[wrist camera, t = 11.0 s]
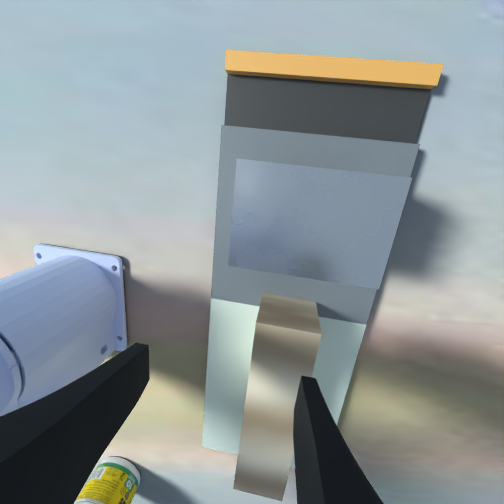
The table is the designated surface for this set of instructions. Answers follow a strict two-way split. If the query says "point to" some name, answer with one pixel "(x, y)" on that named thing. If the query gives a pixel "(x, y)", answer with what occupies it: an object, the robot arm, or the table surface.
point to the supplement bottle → (111, 483)
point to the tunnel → (315, 221)
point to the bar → (275, 392)
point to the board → (314, 155)
